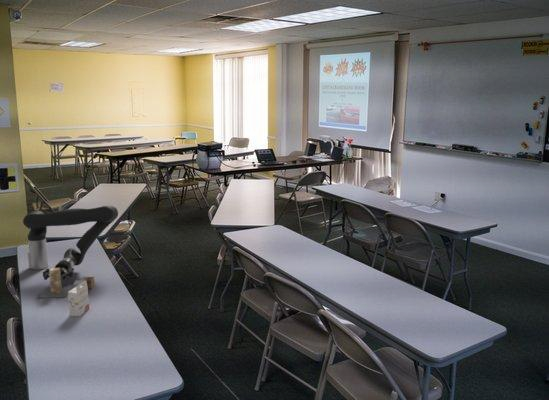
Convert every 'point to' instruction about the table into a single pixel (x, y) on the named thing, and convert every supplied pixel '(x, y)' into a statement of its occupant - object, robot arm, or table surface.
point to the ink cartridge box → (78, 299)
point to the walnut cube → (89, 282)
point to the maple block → (55, 280)
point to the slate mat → (62, 294)
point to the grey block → (77, 283)
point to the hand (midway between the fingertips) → (54, 278)
